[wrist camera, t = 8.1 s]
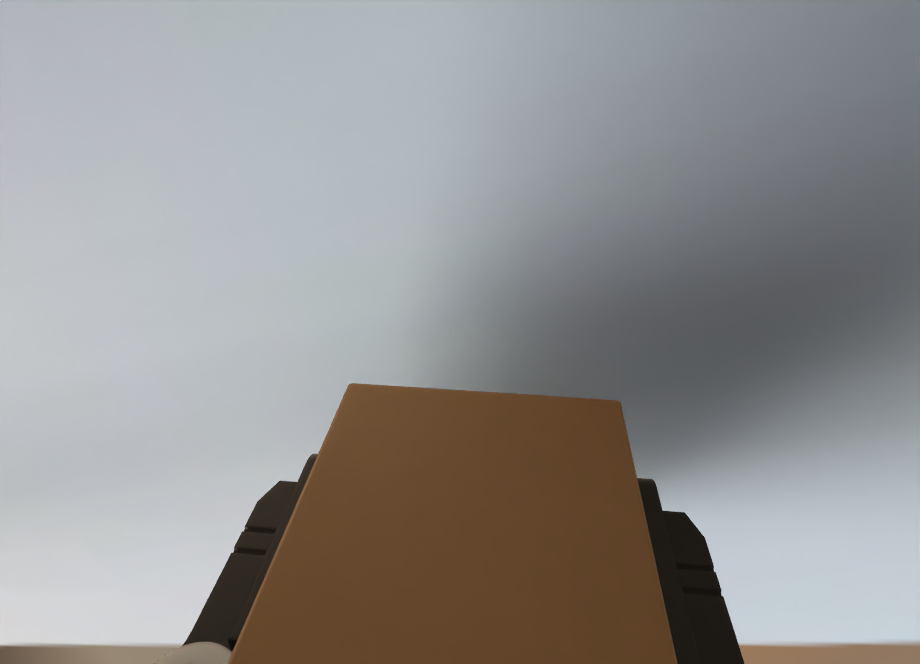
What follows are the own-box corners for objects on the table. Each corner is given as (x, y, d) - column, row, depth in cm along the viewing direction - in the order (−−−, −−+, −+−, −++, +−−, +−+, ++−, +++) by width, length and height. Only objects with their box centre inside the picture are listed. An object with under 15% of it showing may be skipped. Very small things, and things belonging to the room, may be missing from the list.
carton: (367, 559, 13) (280, 877, 8) (347, 380, 10) (210, 691, 6) (588, 578, 12) (623, 922, 8) (621, 398, 10) (697, 744, 5)
